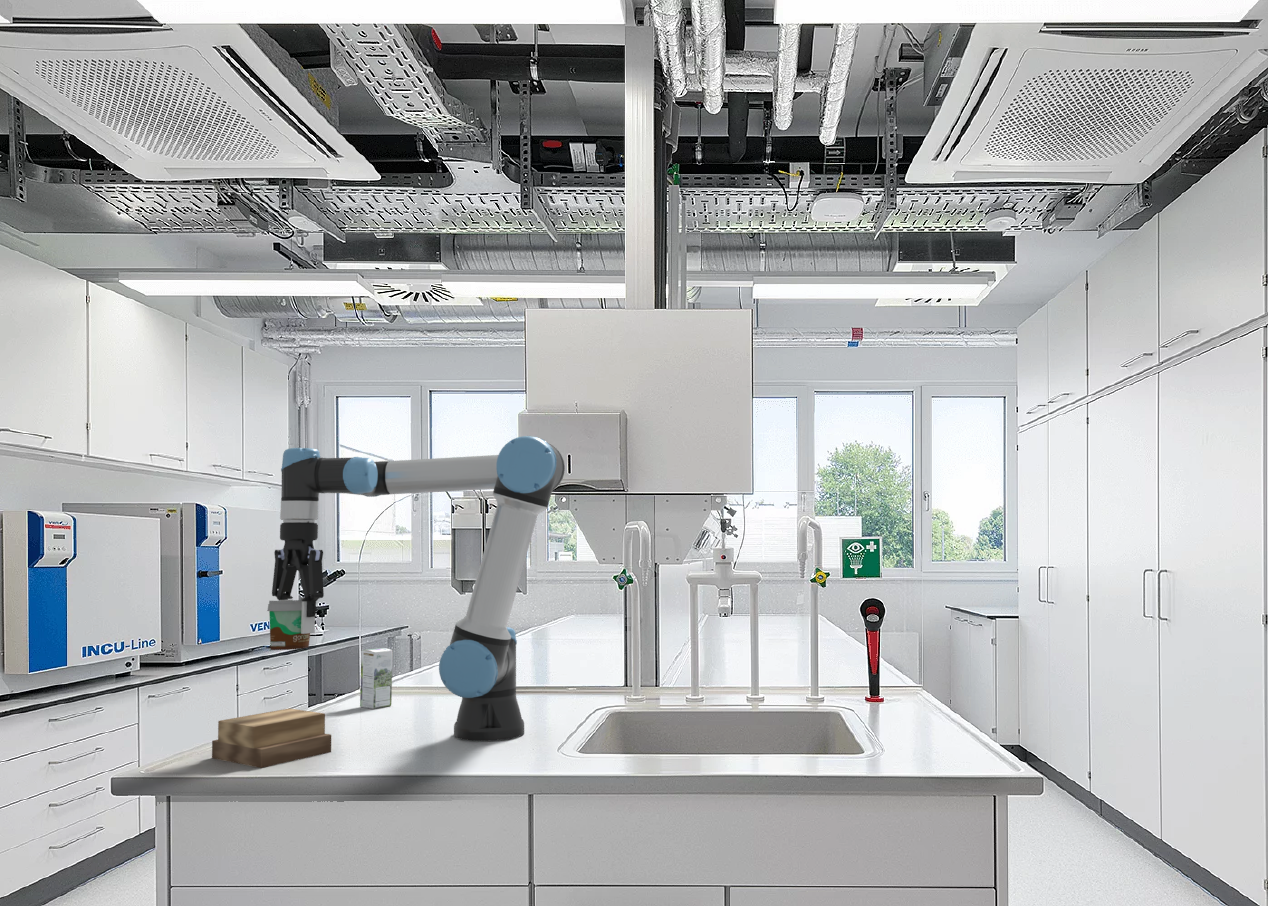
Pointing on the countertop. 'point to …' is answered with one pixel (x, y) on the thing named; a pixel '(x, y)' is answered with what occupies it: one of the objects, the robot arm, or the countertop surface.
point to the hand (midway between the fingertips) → (296, 631)
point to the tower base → (272, 751)
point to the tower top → (271, 727)
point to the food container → (286, 625)
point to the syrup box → (376, 678)
